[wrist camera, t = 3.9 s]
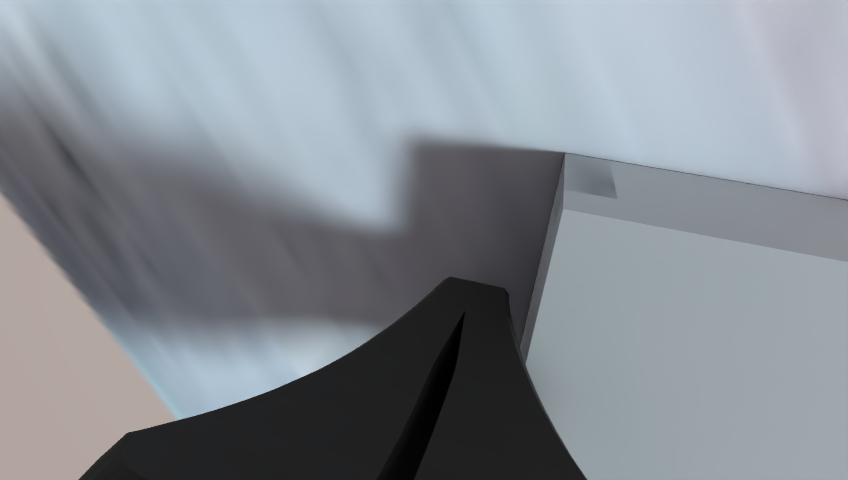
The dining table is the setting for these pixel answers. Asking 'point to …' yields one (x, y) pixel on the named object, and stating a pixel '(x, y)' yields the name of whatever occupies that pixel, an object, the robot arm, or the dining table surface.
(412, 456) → the robot arm
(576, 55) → the dining table surface
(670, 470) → the grey slab
